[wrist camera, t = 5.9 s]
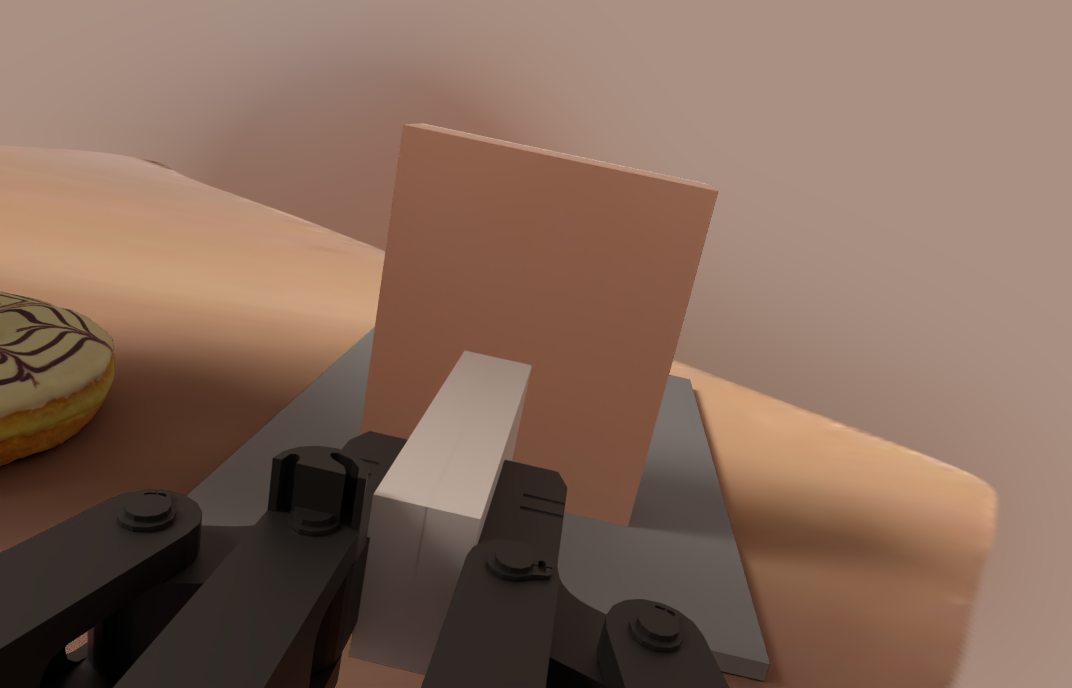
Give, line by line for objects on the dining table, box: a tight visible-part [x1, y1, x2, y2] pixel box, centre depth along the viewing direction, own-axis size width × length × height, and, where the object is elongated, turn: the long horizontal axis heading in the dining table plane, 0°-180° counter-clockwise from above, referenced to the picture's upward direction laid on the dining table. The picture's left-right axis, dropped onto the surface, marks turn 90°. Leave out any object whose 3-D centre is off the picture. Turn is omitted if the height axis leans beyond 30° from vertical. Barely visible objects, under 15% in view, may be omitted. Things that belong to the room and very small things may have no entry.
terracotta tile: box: [360, 123, 718, 527], centre depth 27 cm, size 10×2×12 cm, turn 84°
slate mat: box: [187, 327, 770, 681], centre depth 33 cm, size 18×24×1 cm
